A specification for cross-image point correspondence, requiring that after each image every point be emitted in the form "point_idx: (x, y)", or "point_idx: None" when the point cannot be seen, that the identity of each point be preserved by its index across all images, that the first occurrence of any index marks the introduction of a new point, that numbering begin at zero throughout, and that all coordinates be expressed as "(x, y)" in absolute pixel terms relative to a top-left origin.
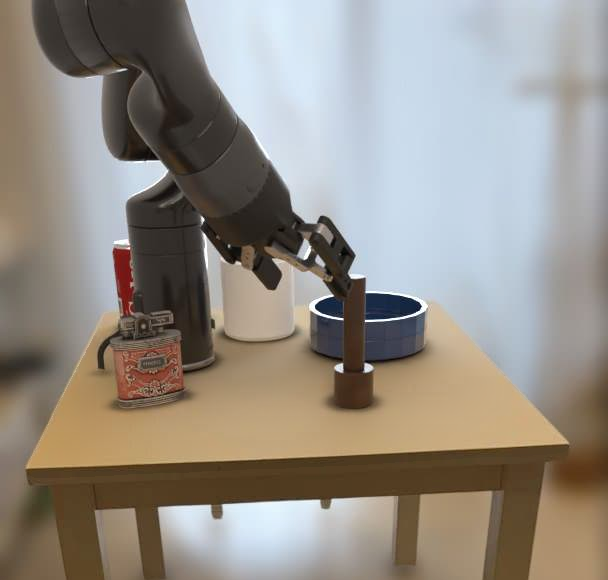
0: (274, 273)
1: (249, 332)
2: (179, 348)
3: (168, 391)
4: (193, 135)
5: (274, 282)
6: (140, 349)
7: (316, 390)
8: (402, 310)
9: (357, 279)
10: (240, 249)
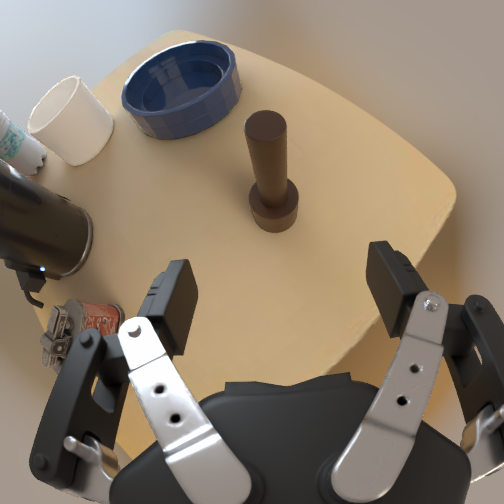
0: (185, 286)
1: (87, 155)
2: (91, 310)
3: (115, 331)
4: None
5: (193, 291)
6: None
7: (218, 210)
8: (192, 53)
9: (282, 135)
10: (121, 371)
